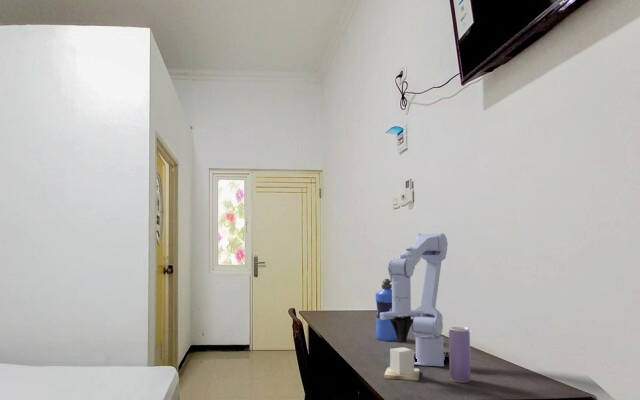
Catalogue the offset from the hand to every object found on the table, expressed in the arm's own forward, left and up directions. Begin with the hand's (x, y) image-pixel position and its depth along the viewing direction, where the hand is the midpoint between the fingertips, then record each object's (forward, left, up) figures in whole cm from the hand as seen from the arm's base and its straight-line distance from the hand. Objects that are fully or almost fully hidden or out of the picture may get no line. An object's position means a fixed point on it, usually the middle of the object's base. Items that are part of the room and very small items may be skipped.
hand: (401, 342), depth 153 cm
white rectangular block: (0, 0, -9) cm, 9 cm away
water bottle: (+10, -56, -10) cm, 58 cm away
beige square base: (0, 0, -10) cm, 10 cm away
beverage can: (-17, +2, -10) cm, 20 cm away
